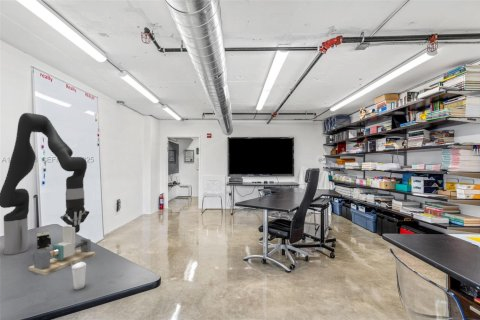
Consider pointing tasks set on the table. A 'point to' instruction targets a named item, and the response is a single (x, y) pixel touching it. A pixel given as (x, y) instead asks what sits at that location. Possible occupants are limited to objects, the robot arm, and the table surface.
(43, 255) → the pipe stand
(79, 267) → the milkshake
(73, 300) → the table surface
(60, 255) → the thin teal tile
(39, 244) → the pneumatic valve
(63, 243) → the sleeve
